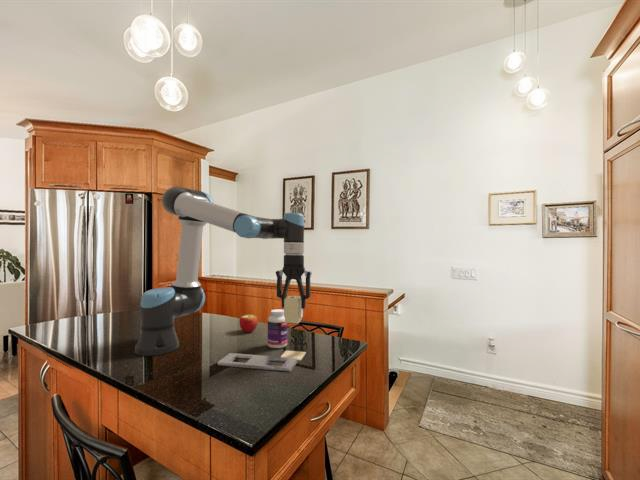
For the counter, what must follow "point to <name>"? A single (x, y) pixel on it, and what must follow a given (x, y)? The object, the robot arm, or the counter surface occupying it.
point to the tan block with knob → (292, 309)
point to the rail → (258, 362)
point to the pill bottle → (277, 329)
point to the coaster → (294, 354)
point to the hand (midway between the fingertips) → (293, 316)
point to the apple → (248, 323)
